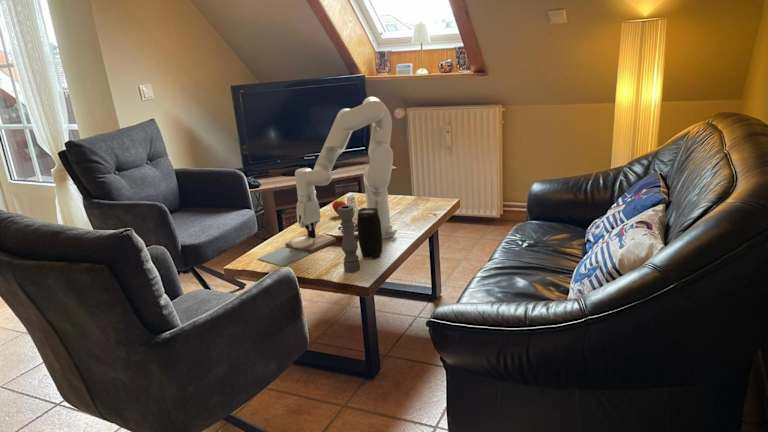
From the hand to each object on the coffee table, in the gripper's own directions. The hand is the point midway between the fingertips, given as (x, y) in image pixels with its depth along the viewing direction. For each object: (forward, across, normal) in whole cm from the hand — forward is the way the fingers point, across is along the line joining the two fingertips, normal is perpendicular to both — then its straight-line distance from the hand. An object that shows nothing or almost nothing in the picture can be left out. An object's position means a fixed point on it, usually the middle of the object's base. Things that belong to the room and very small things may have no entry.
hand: (312, 237), depth 242 cm
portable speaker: (+3, -2, +33) cm, 33 cm away
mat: (+3, +17, 0) cm, 17 cm away
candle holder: (+3, +12, +35) cm, 38 cm away
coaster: (+1, +6, 0) cm, 6 cm away
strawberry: (+3, -34, -16) cm, 38 cm away
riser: (+3, +1, 0) cm, 3 cm away
